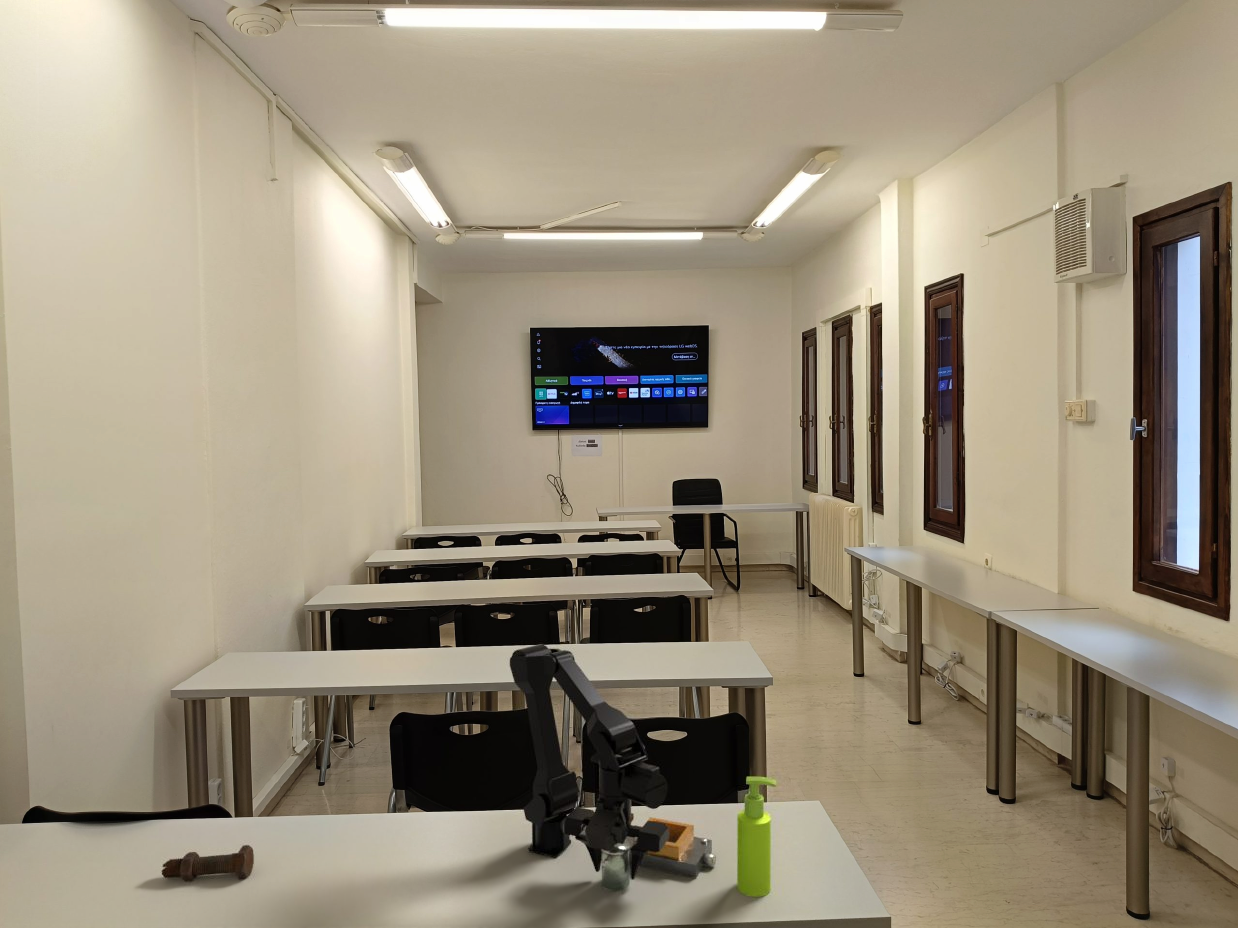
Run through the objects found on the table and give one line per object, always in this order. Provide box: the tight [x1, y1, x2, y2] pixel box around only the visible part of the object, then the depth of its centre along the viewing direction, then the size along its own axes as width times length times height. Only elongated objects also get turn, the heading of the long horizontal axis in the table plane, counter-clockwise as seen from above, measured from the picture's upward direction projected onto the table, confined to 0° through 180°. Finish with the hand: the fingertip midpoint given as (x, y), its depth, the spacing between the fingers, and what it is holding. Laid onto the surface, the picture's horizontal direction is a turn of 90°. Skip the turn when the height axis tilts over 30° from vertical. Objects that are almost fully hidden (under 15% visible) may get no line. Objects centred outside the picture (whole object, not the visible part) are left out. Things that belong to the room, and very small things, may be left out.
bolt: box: [161, 844, 255, 883], centre depth 156 cm, size 6×5×15 cm
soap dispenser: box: [736, 776, 778, 898], centre depth 151 cm, size 6×7×20 cm
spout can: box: [601, 840, 631, 892], centre depth 152 cm, size 5×8×7 cm, turn 158°
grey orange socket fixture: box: [625, 816, 717, 879], centre depth 162 cm, size 18×10×5 cm, turn 67°
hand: (615, 874), depth 153 cm, fingers open, 7 cm apart
